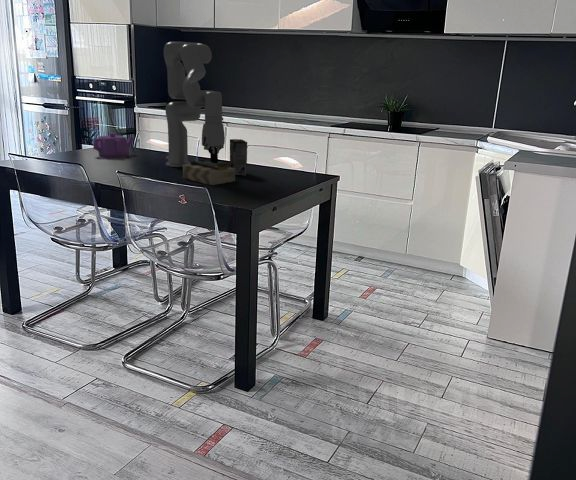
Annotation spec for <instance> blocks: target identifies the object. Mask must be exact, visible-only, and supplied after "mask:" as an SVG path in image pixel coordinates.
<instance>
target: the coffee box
mask: <svg viewBox="0 0 576 480" xmlns="http://www.w3.org/2000/svg"><path fill="white" fill-rule="evenodd" d="M229 167H232V168H235V175H242V176H247V172H248V141H247V140H244V139H238V138H237V139H236V138H233V139H231V138H230V139H229Z"/></svg>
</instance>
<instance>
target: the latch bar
mask: <svg viewBox="0 0 576 480" xmlns="http://www.w3.org/2000/svg"><path fill="white" fill-rule="evenodd" d="M195 164H199V165H218V164H225V162H224V161H218V162H217V163H213V162H211V161H207V160H206V161H195Z"/></svg>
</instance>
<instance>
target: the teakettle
mask: <svg viewBox="0 0 576 480" xmlns="http://www.w3.org/2000/svg"><path fill="white" fill-rule="evenodd" d="M133 140H134V137H128V138H127V137H126V136H123V135H119V134H118V135H116V133H115V132H110V133H109V135H100V136H98V138H93V146H92V147H93V150H96V151H98V155H99V156H100V157H102V158H105V159H112V158H113V159H115V158H125V157H126V158H128V157H129V155H130V147H131V145H132V143H133V142H134V141H133Z"/></svg>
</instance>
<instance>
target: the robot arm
mask: <svg viewBox="0 0 576 480" xmlns="http://www.w3.org/2000/svg"><path fill="white" fill-rule="evenodd" d="M212 57H213V55H212V50H211V48H210V46H208V44H204V43H201V42H187V41H169V42H166V43H165V45H164V48H163V58H164V62H165V63H164V64H165V65H166V72H167V93H168V96H169V97H170V98H171V99H176V100H185V101H171V102H168V103H167V104H166V106H165V111H164V112H165V116H166V122H167V123H166V124H167V135H168V136H167V143H168V155H167V156H166V157H165V160H167V161H166V162H165V166H167V167H173V168H183V165H187V164H190V161H189V158H188V157H189V156H188V155H189V152H188V150H189V149H188V148H189V146H188V129H187V126H186V125H185V124H184V122H195V121H196V122H197V121H198V120H200V118H201V114H202V108H204V123H203V125H202V129H201V130H202V131H201V146H203V150H204V151H205V150H206V151H207V152H208V153H209V154H210V155H209V157H210V161H209V162H213V163H217V162H219V153H220V151H221V150H222V149H224V148H225V143H226V138H225V137H226V135H225V128H224V127H225V126H224V123H223V121H224V118H223V101H222V100H223V97H222V96H223V94H222V93H221V92H220V91H216V90H206V89H205V90H203V89H202V90H201V85H200V84H199V81H201V79H203V78H204V77H205V75H206V72H207V71H206V69H205V65H204V64H209V63H210V62H211V60H212ZM181 61H182V62H181Z"/></svg>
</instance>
